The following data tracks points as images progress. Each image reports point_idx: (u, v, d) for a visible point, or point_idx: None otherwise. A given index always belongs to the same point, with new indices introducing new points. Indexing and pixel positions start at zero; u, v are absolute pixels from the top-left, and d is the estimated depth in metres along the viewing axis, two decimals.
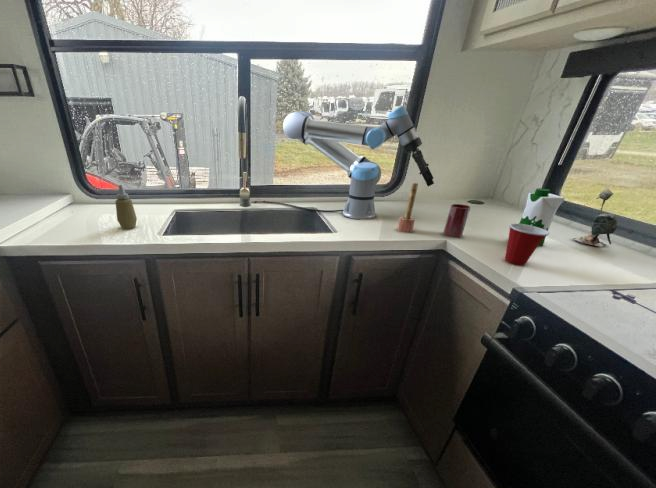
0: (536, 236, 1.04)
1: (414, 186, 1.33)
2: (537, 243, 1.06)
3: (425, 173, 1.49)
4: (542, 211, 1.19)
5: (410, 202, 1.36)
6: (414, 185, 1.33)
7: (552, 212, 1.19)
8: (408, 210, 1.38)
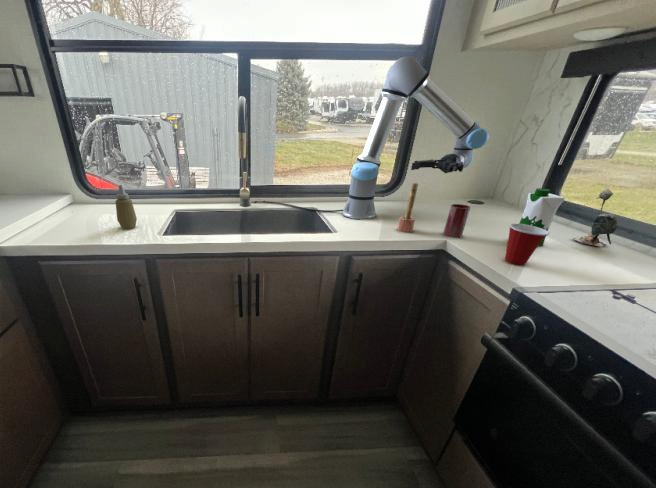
0: (536, 236, 1.04)
1: (414, 186, 1.33)
2: (537, 243, 1.06)
3: (456, 168, 1.34)
4: (542, 211, 1.19)
5: (410, 202, 1.36)
6: (414, 185, 1.33)
7: (552, 212, 1.19)
8: (408, 210, 1.38)
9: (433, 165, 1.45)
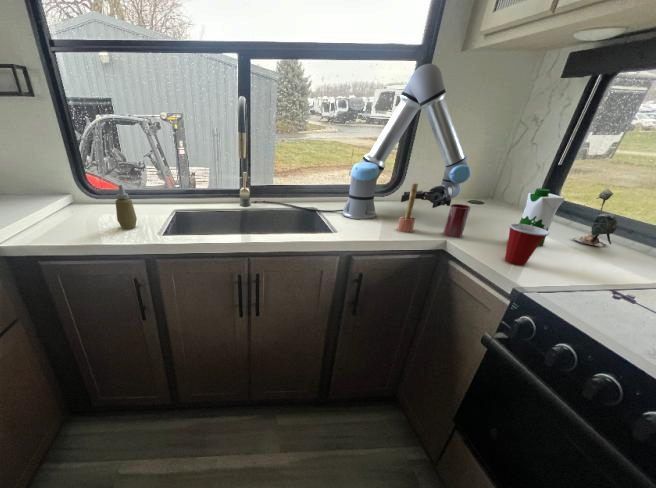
0: (536, 236, 1.04)
1: (414, 186, 1.33)
2: (537, 243, 1.06)
3: (444, 203, 1.38)
4: (542, 211, 1.19)
5: (410, 202, 1.36)
6: (414, 185, 1.33)
7: (552, 212, 1.19)
8: (408, 210, 1.38)
9: (422, 197, 1.49)
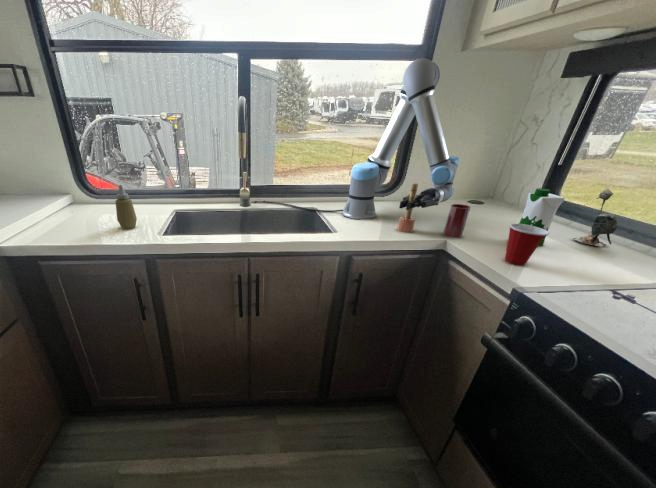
0: (536, 236, 1.04)
1: (414, 186, 1.33)
2: (537, 243, 1.06)
3: (418, 204, 1.35)
4: (542, 211, 1.19)
5: None
6: (414, 185, 1.33)
7: (552, 212, 1.19)
8: (408, 210, 1.38)
9: (417, 201, 1.42)
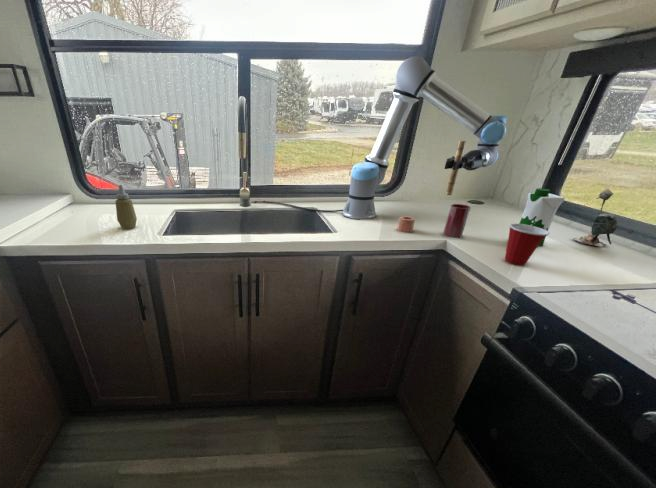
0: (536, 236, 1.04)
1: (462, 144, 1.21)
2: (537, 243, 1.06)
3: (465, 165, 1.24)
4: (542, 211, 1.19)
5: None
6: (462, 142, 1.21)
7: (552, 212, 1.19)
8: (453, 171, 1.26)
9: None
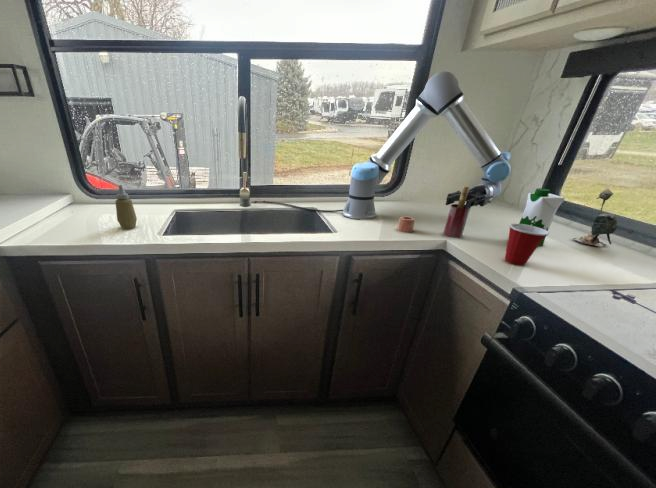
0: (536, 236, 1.04)
1: (465, 189, 1.27)
2: (537, 243, 1.06)
3: (477, 203, 1.27)
4: (542, 211, 1.19)
5: (460, 206, 1.30)
6: (465, 188, 1.27)
7: (552, 212, 1.19)
8: None
9: None
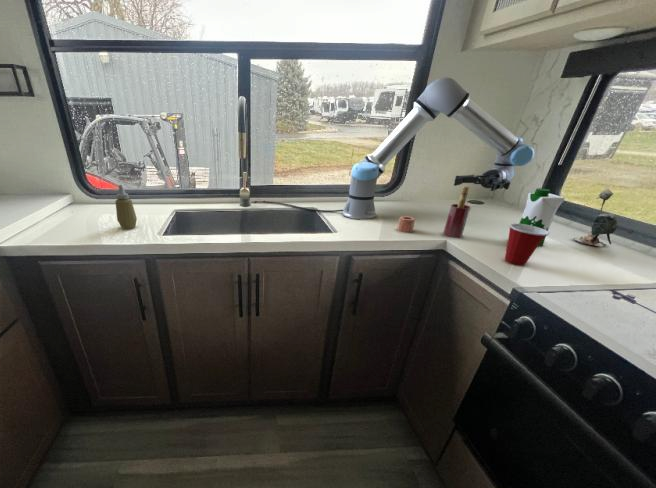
0: (536, 236, 1.04)
1: (465, 189, 1.27)
2: (537, 243, 1.06)
3: (502, 186, 1.31)
4: (542, 211, 1.19)
5: (460, 206, 1.30)
6: (465, 188, 1.27)
7: (552, 212, 1.19)
8: None
9: (475, 181, 1.42)
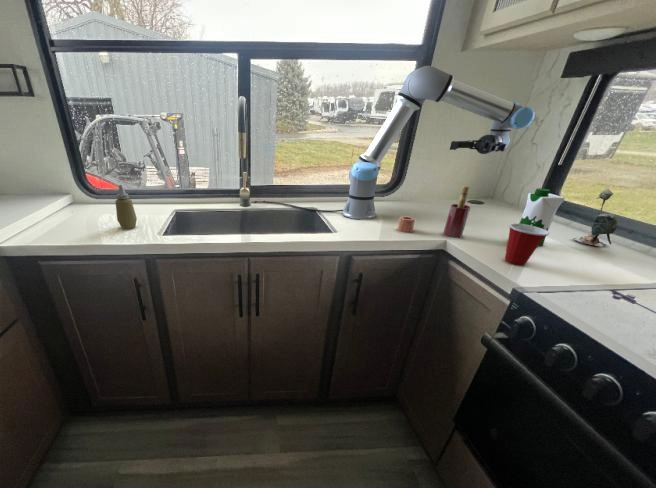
0: (536, 236, 1.04)
1: (465, 189, 1.27)
2: (537, 243, 1.06)
3: (498, 148, 1.30)
4: (542, 211, 1.19)
5: (460, 206, 1.30)
6: (465, 188, 1.27)
7: (552, 212, 1.19)
8: None
9: (471, 146, 1.41)
